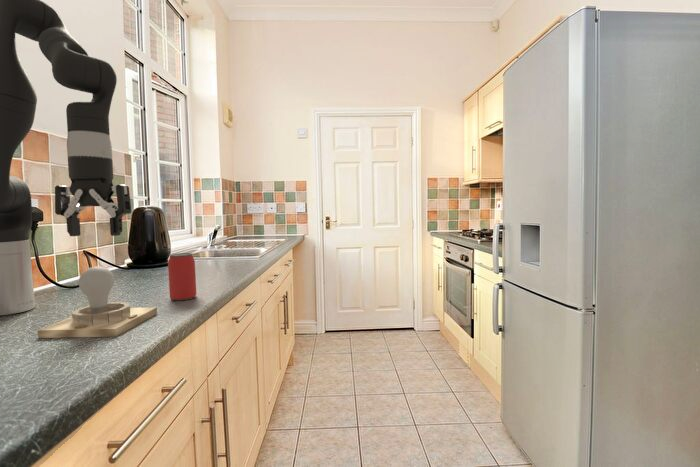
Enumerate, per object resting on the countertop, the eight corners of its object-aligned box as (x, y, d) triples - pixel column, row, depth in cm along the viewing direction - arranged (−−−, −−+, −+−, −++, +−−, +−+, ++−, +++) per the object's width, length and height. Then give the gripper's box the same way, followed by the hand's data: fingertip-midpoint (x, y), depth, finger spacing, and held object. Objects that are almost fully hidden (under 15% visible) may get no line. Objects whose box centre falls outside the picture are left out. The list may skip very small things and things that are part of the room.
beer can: (191, 294, 105) (188, 252, 104) (200, 297, 100) (198, 253, 100) (166, 298, 100) (163, 254, 100) (175, 302, 96) (172, 256, 95)
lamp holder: (38, 337, 71) (36, 320, 71) (92, 314, 86) (91, 300, 86) (115, 336, 71) (114, 318, 71) (157, 313, 86) (156, 298, 86)
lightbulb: (106, 322, 75) (103, 268, 74) (74, 323, 75) (70, 269, 74) (122, 313, 81) (118, 263, 80) (92, 314, 81) (88, 264, 80)
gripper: (135, 158, 79) (139, 234, 80) (70, 159, 80) (75, 234, 81) (113, 153, 72) (117, 237, 73) (40, 154, 72) (46, 237, 73)
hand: (95, 235), depth 77 cm, fingers open, 8 cm apart
